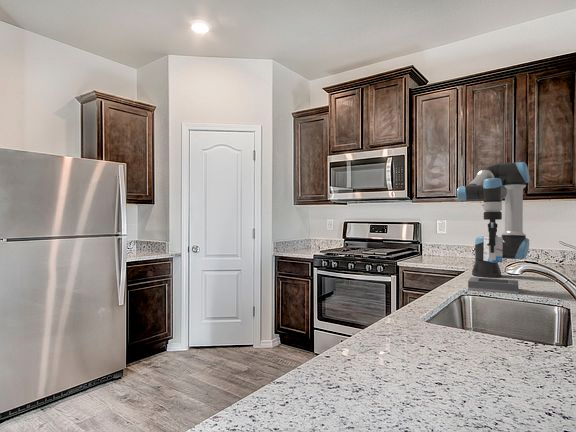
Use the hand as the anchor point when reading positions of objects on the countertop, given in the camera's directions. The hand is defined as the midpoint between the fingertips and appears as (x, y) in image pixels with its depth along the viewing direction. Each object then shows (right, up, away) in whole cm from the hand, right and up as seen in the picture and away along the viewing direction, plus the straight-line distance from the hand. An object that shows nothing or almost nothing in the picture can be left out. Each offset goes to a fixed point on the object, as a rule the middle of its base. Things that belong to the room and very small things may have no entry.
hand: (492, 258), depth 176 cm
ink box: (0, -1, 0) cm, 1 cm away
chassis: (0, -14, 0) cm, 14 cm away
